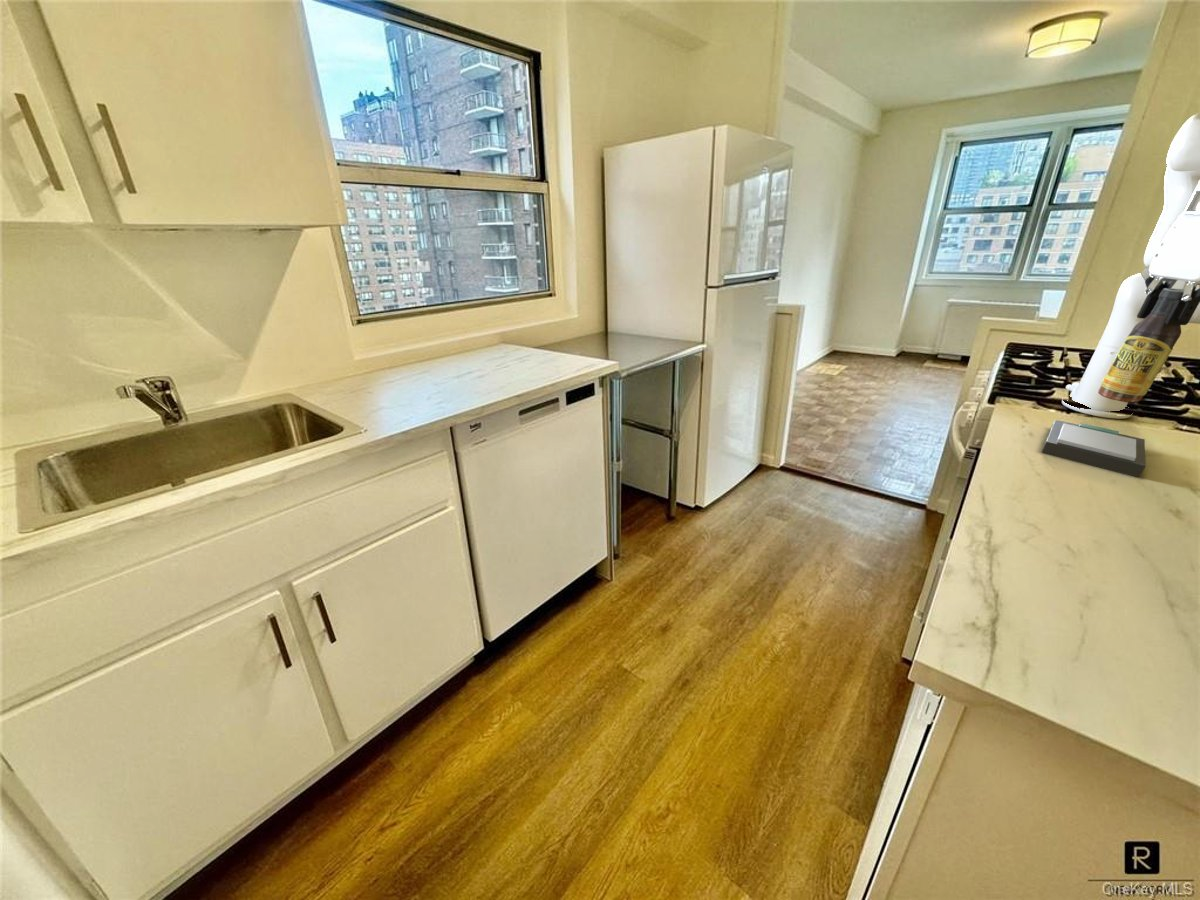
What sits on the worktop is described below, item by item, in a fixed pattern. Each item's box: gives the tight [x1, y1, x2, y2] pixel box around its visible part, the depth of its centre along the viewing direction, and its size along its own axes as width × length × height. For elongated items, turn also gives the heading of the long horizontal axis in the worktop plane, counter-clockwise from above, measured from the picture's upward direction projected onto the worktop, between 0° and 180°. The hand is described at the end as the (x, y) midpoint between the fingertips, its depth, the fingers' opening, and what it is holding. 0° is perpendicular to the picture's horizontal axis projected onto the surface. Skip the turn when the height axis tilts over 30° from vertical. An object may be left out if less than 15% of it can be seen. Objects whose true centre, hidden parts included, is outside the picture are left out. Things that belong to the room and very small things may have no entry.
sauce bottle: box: [1098, 288, 1184, 403], centre depth 87 cm, size 7×6×20 cm
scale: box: [1041, 419, 1146, 478], centre depth 97 cm, size 16×14×3 cm
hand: (1161, 320), depth 85 cm, fingers closed on sauce bottle, 4 cm apart
